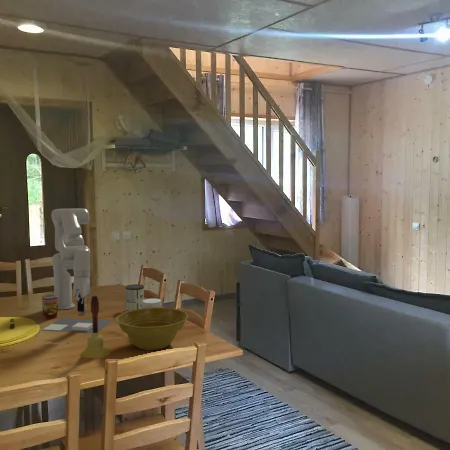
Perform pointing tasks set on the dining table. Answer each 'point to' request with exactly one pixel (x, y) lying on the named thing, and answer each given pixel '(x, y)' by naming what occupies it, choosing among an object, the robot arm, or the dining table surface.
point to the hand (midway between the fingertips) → (82, 309)
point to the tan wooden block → (84, 307)
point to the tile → (82, 327)
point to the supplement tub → (151, 303)
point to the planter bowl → (152, 326)
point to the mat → (72, 322)
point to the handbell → (95, 336)
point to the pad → (55, 327)
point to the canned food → (50, 306)
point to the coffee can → (134, 297)
